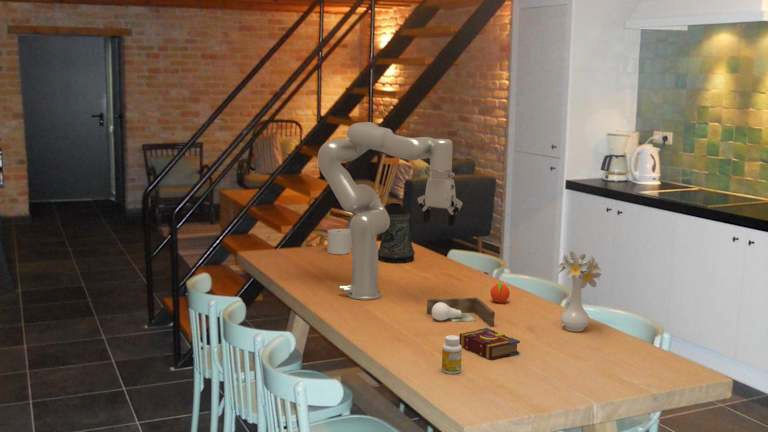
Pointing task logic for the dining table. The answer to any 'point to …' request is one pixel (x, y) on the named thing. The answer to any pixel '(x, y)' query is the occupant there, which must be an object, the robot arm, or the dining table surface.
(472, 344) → the decorative book
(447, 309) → the lightbulb
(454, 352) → the supplement bottle
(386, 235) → the beer stein
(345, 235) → the toilet tissue
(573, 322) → the flower vase
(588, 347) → the dining table surface
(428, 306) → the corner fence
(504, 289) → the clementine
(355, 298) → the robot arm
